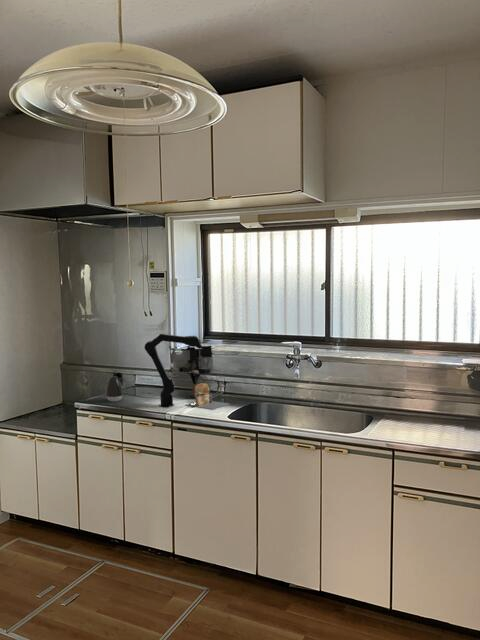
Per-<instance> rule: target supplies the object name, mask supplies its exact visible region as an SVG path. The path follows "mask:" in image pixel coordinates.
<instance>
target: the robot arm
mask: <svg viewBox="0 0 480 640" xmlns="http://www.w3.org/2000/svg"><path fill="white" fill-rule="evenodd" d="M162 342H169V343H170V342H171V343H179V344H185V345H187V347H186V348H185V351H188V355H189V359H187V362H186V363H185V364H184V365H182V366H179V368H178V372H180V373H186V374H187V375H189V376H190V378H191V382H192V383H193V386H194V385H197V382H198V380H199V378H200V376H201V375H206V374H210V373H211V369H210V367H201V365H200V362H201V361H202V359H203V358H205V359H206V358H209V359H210V358H212V357H213V351H212V345H202V344H201V342H200V338H199V337H198V336H196V335H184V336H183V335H174V334H165V333H160V334H159V335H157V336H156V337H154V339H152V340H149V341H147V342H146V343H145V344H144V350H145V352H146V353H147V354H148V355H149V357H150V358H151V360H152V362H153V363H154V366H155V368H156V370H157V372H158V374H159V376H160V378H161V381H162V385H163V389H162V390H160V391H161V392H160V404H159V405H158V407H164V408H169V407H172V406H175V404H174V402H173V401H174V400H173V395H172V394H173V392H174V391H175V388H176V382H175V381H174V379H173V377H171V378H170V377H169V375H168V373H167V371H166V369H165V366H164V364H163V363H162V360H161V358H160V357H159V354H158V350H157V346H159V344H160V343H162ZM200 357H201V358H202V359H200Z"/></svg>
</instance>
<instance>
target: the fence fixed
mask: <svg viewBox="0 0 480 640" xmlns="http://www.w3.org/2000/svg"><path fill="white" fill-rule="evenodd" d="M204 395H207V393H200V392H197V397H200V396H204ZM209 395H210V396H209V403H212V401H213V400H212V397H213V396H212V393H211V392H210V393H209Z"/></svg>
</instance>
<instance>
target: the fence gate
mask: <svg viewBox="0 0 480 640" xmlns="http://www.w3.org/2000/svg"><path fill="white" fill-rule="evenodd" d="M209 396H210V395H209V394H207V395H204V396H200V397H196V398H195V402H196V406H199V405H202V404H205V403H209Z"/></svg>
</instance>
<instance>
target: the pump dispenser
mask: <svg viewBox="0 0 480 640" xmlns="http://www.w3.org/2000/svg"><path fill="white" fill-rule="evenodd" d="M123 378H124V377H118V376H116V375H112V376H110V378H108V381H107V384H106V388H105V397H106V399H107V400H108V401H109V402H111V403H112V402H113V403H115V402H119V401H121V400H122V398H123V396H124V391H123V386H122V383H121V380H123Z"/></svg>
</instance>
